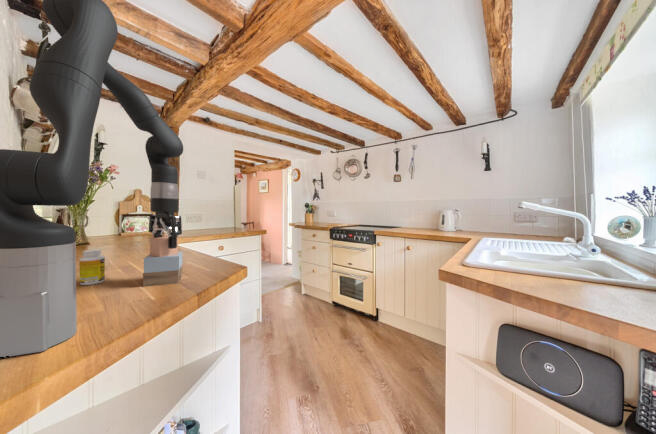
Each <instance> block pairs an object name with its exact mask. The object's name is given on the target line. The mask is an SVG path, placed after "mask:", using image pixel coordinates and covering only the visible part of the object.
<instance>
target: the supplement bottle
mask: <svg viewBox="0 0 656 434" xmlns="http://www.w3.org/2000/svg"><path fill="white" fill-rule="evenodd" d="M82 251H83V252H82V257H80V258H79V259H78V261H79V263H78V264H79V265H78V266H79V269H78V270H79V285H82V286H92V285H97V284H101V283H103V282H104V281H105V279H106V278H105V277H106V275H105V271H106V270H105V269H106V266H105V265H106V263H105V259H106V258H105V256H104V255H102V250H101V249H88V250H82Z"/></svg>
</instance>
